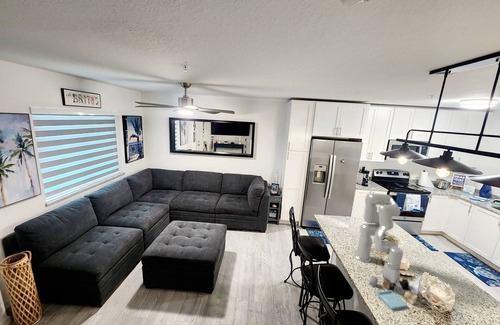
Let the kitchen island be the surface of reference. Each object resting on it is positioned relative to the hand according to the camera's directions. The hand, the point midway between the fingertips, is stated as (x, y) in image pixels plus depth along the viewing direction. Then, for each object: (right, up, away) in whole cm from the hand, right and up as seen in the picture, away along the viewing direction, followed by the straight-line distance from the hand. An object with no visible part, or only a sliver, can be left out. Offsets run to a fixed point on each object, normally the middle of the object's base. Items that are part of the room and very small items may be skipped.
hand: (388, 286), depth 148 cm
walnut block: (0, -1, 0) cm, 1 cm away
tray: (-6, -3, -11) cm, 13 cm away
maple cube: (+7, -3, -10) cm, 13 cm away
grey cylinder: (-10, 0, +2) cm, 10 cm away
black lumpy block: (+14, -2, +3) cm, 14 cm away
